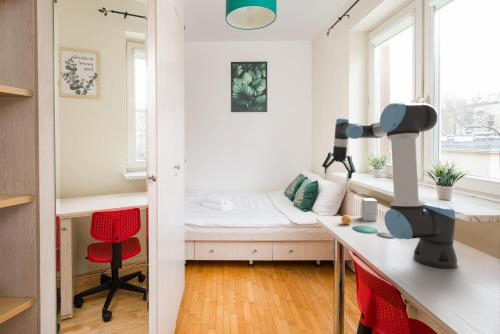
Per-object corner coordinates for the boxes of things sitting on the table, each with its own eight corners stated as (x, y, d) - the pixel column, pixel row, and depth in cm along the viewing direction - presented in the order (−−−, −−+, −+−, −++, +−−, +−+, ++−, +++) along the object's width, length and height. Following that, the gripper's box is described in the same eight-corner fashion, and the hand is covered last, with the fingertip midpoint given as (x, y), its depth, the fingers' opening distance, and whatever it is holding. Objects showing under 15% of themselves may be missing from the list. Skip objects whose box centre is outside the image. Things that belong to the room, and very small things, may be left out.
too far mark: (399, 236, 150) (399, 235, 150) (390, 239, 145) (390, 239, 145) (382, 231, 158) (382, 231, 158) (373, 234, 152) (373, 234, 152)
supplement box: (372, 217, 184) (373, 198, 183) (376, 221, 177) (377, 200, 175) (360, 217, 185) (361, 197, 184) (364, 220, 177) (364, 200, 176)
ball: (353, 224, 170) (353, 215, 169) (347, 226, 167) (347, 216, 166) (344, 222, 174) (345, 213, 174) (339, 223, 171) (339, 214, 170)
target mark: (382, 230, 160) (382, 229, 160) (369, 235, 152) (369, 234, 152) (361, 224, 170) (361, 224, 170) (347, 228, 162) (347, 228, 162)
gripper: (364, 148, 163) (360, 184, 168) (324, 142, 180) (321, 176, 185) (358, 149, 158) (354, 187, 162) (318, 143, 175) (315, 178, 180)
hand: (336, 181), depth 174 cm, fingers open, 13 cm apart
